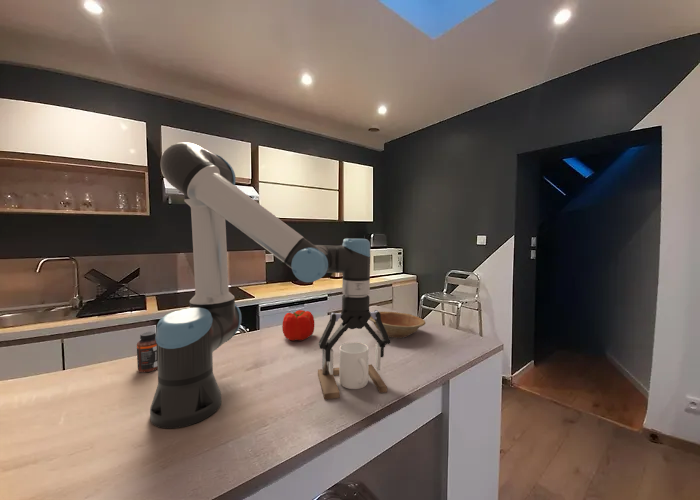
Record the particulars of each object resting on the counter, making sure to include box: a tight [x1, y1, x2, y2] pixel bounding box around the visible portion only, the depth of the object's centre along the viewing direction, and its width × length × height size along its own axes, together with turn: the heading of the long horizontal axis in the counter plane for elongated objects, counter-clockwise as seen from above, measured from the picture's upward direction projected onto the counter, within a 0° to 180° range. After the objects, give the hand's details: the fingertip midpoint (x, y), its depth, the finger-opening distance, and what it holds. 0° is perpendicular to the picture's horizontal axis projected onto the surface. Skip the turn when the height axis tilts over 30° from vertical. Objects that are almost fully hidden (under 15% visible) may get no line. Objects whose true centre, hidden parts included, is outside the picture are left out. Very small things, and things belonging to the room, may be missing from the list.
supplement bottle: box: [136, 331, 158, 373], centre depth 95 cm, size 6×6×11 cm
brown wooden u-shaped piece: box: [317, 363, 388, 400], centre depth 87 cm, size 17×14×2 cm
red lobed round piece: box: [281, 309, 315, 342], centre depth 123 cm, size 14×13×10 cm
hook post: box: [321, 338, 330, 375], centre depth 87 cm, size 2×6×10 cm, turn 13°
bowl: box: [368, 311, 426, 339], centre depth 127 cm, size 24×24×8 cm
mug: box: [338, 341, 370, 390], centre depth 85 cm, size 12×8×10 cm
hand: (354, 370), depth 85 cm, fingers open, 13 cm apart
